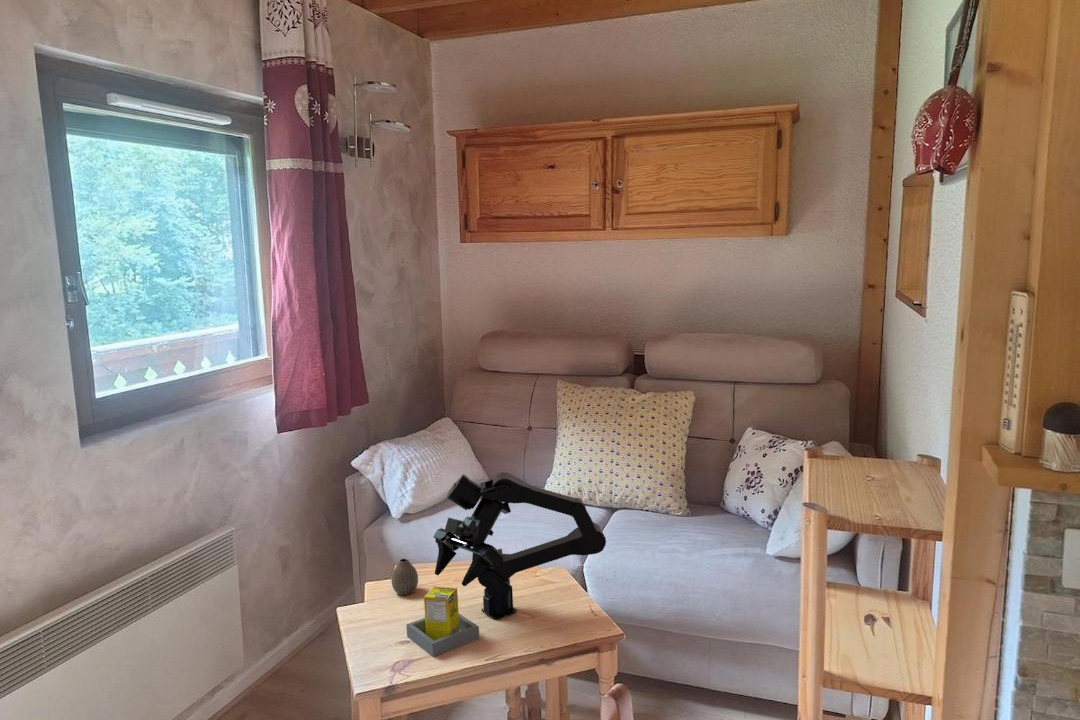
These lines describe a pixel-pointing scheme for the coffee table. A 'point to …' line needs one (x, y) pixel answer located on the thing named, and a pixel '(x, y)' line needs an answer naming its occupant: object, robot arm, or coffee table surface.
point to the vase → (404, 578)
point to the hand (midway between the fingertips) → (449, 579)
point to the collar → (446, 643)
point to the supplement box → (441, 612)
